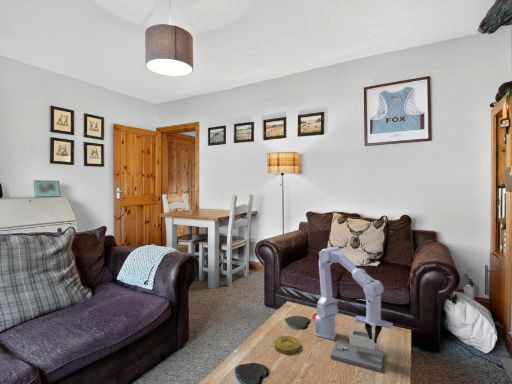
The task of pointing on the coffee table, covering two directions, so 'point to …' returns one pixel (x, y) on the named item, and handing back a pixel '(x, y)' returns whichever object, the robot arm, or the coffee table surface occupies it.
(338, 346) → the chain anchor
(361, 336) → the steel link
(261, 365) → the coffee table surface
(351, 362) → the board
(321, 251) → the robot arm
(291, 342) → the olive flat disc
